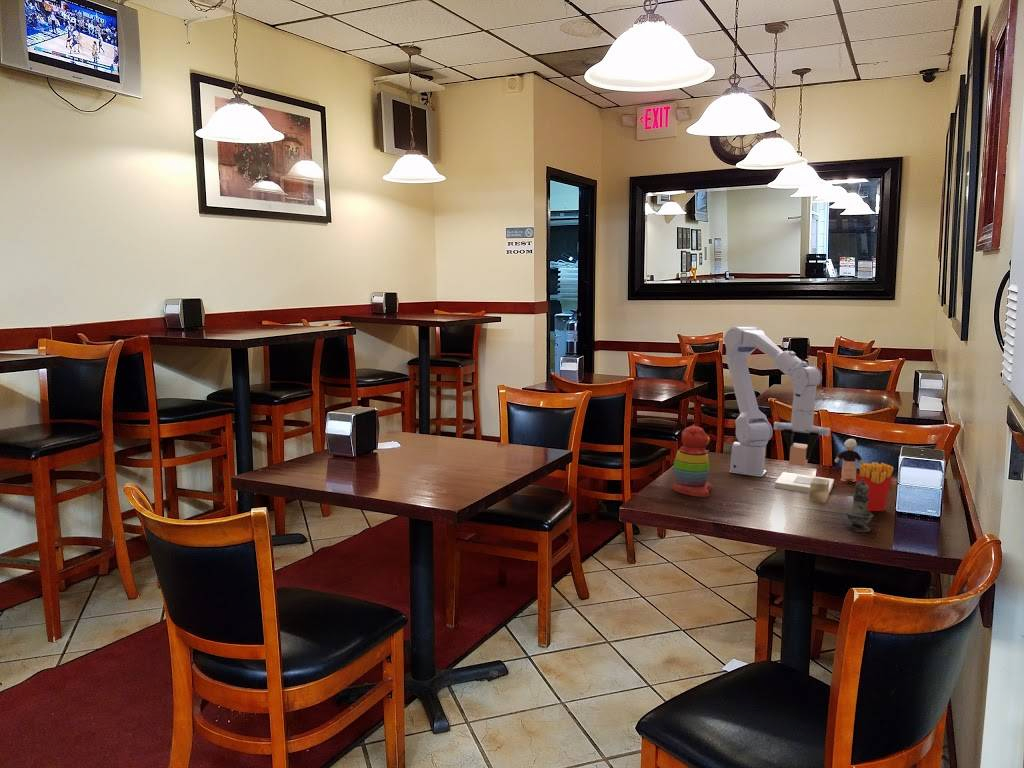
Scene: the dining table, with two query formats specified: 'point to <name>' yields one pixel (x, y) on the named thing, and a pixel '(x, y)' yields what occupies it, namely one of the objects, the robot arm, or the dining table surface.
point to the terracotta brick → (798, 454)
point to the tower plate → (798, 482)
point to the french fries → (876, 484)
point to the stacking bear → (692, 463)
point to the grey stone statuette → (859, 509)
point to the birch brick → (819, 490)
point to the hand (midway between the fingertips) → (798, 457)
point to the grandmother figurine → (849, 461)
